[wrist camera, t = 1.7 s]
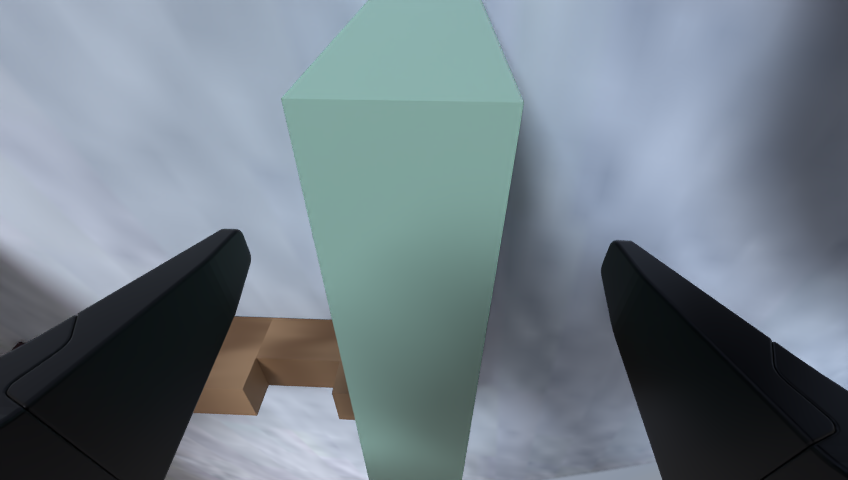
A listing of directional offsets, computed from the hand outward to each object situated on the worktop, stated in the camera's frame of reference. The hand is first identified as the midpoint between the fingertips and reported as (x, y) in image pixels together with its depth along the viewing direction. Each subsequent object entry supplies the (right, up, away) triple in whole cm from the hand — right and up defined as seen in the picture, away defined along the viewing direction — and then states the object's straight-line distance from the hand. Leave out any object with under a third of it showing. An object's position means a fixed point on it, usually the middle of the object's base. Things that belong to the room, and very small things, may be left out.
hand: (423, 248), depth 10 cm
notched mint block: (0, +3, +4) cm, 6 cm away
